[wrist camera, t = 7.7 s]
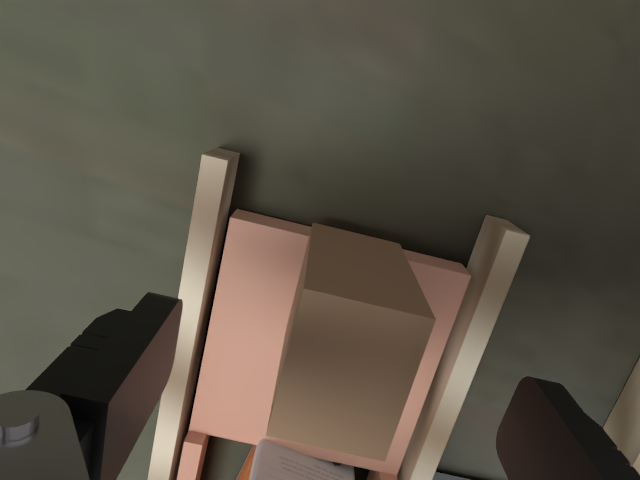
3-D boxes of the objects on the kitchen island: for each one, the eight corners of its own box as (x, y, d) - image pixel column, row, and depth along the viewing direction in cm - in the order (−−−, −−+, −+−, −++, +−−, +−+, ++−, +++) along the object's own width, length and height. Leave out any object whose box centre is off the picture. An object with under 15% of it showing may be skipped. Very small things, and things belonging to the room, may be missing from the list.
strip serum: (239, 195, 16) (181, 259, 10) (466, 251, 17) (551, 346, 10) (173, 532, 21) (104, 723, 15) (351, 568, 21) (360, 769, 15)
